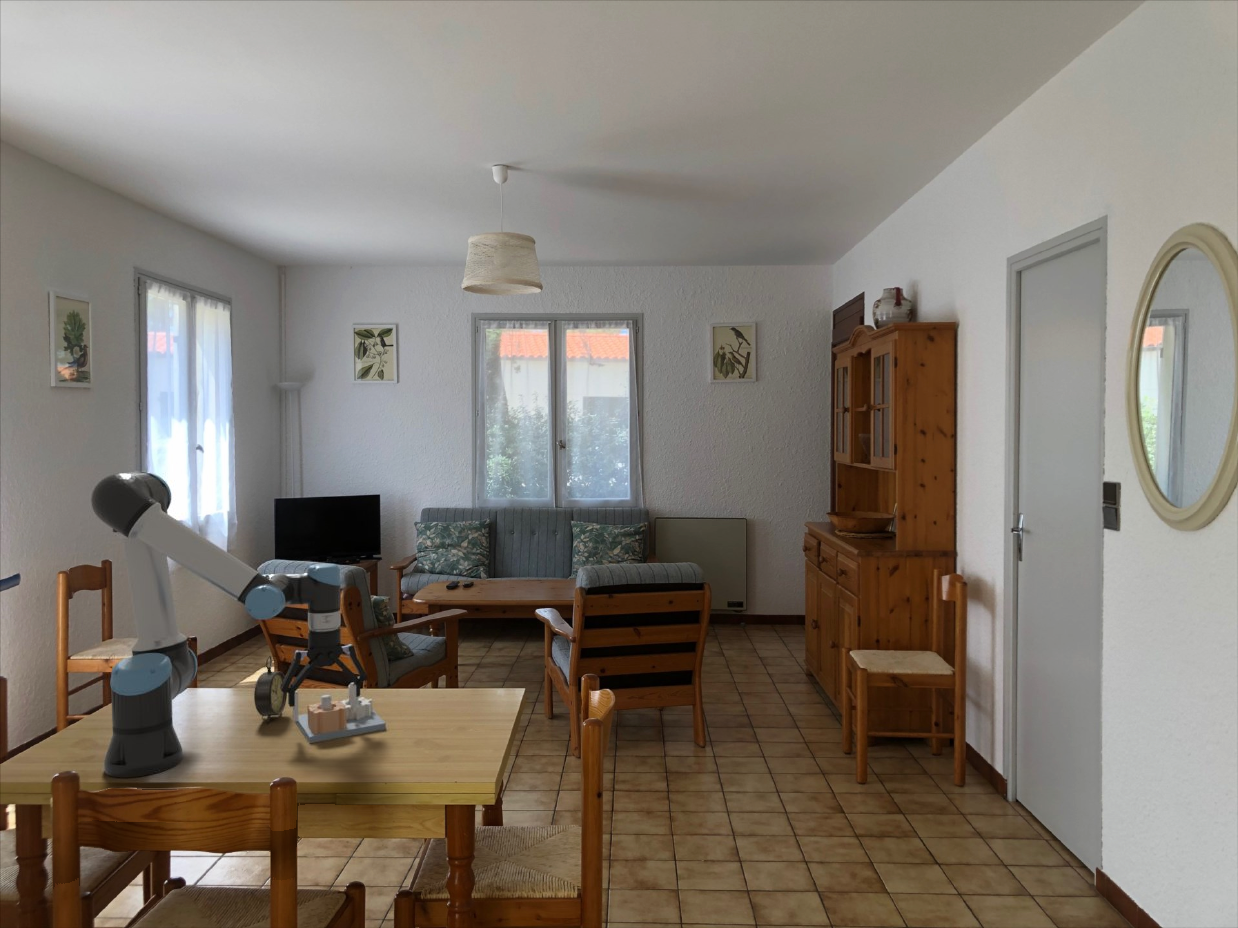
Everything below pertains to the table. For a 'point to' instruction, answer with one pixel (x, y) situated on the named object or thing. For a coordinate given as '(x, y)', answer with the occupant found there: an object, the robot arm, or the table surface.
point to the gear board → (356, 721)
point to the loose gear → (327, 717)
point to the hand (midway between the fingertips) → (325, 714)
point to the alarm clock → (270, 693)
